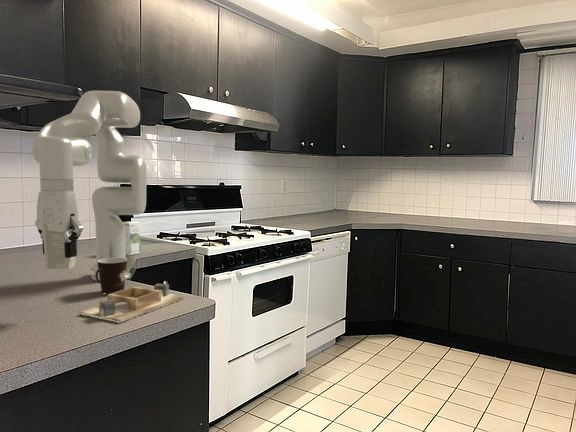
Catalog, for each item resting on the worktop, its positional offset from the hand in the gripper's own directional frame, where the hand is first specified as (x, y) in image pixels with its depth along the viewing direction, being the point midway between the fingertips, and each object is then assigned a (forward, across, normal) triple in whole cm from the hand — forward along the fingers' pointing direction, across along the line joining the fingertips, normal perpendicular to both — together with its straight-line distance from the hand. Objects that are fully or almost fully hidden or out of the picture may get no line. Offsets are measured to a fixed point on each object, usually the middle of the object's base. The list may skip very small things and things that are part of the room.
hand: (59, 254), depth 122 cm
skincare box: (+4, 0, 0) cm, 4 cm away
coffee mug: (+17, -6, +21) cm, 27 cm away
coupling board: (+16, +12, +14) cm, 24 cm away
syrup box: (+19, -46, +73) cm, 88 cm away
